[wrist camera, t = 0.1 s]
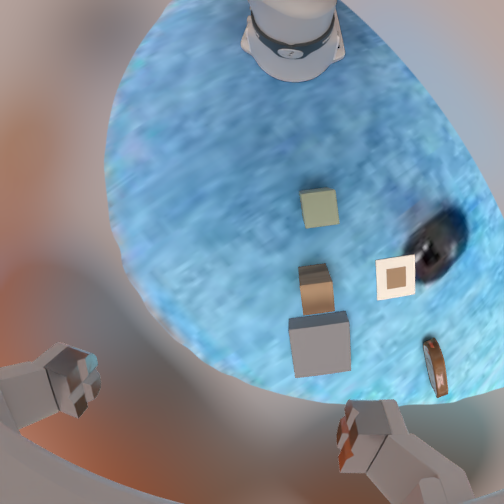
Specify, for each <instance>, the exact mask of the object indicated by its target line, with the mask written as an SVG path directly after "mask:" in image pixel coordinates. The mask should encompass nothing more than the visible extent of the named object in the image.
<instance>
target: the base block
mask: <svg viewBox="0 0 504 504" xmlns="http://www.w3.org/2000/svg"><path fill="white" fill-rule="evenodd" d="M289 336H290V343H291V350H292V357H293V365H294V372H295V378H300V377H309V376H317V375H324V374H332V373H339V372H345V371H351V352H350V329H349V320H348V317H347V314H346V312H345V311H341V312H335V313H328V314H321V315H313V316H306V317H298V318H290V319H289Z"/></svg>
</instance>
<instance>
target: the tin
mask: <svg viewBox="0 0 504 504" xmlns="http://www.w3.org/2000/svg"><path fill="white" fill-rule="evenodd" d="M423 349H424V354H425V360H426V365H427V370H428V375H429V379H430V382H431V385H432V388H433V389H434V391H435V394H436V397H437V398H439V397H441V396H444V395H447V394H448V385H447V376H446V368H445V362H444V358H443V355H442V352H441V349H440V346H439V344H438V342H437V341H436V339H435V338H432V339H430V340H428V341H426V342H424V343H423Z"/></svg>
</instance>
